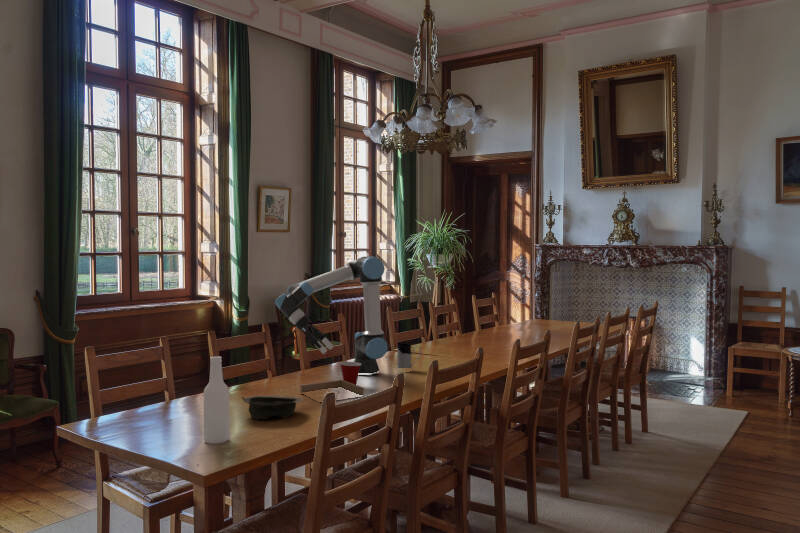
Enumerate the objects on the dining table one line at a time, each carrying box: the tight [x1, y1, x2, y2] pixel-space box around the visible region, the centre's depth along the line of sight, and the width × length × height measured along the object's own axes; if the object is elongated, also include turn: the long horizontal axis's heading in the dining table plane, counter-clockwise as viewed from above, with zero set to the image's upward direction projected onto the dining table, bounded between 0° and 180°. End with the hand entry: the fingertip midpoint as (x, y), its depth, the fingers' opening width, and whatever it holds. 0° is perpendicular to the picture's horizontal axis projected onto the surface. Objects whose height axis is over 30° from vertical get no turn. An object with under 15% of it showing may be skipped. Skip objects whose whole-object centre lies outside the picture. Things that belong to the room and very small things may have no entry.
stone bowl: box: [242, 395, 304, 421], centre depth 262 cm, size 25×25×9 cm
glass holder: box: [396, 343, 422, 369], centre depth 359 cm, size 9×14×15 cm, turn 107°
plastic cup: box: [339, 361, 361, 385], centre depth 318 cm, size 11×11×12 cm
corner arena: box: [299, 379, 365, 401], centre depth 298 cm, size 22×22×4 cm
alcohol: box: [203, 355, 231, 445], centre depth 227 cm, size 9×9×30 cm
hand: (328, 350), depth 319 cm, fingers open, 13 cm apart
